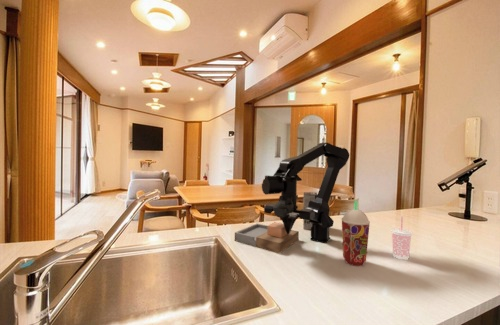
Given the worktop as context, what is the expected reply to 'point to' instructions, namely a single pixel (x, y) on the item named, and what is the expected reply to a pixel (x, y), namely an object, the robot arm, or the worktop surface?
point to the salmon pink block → (276, 230)
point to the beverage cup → (401, 242)
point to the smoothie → (355, 236)
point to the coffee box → (306, 200)
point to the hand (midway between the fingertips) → (288, 233)
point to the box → (250, 234)
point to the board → (277, 241)
